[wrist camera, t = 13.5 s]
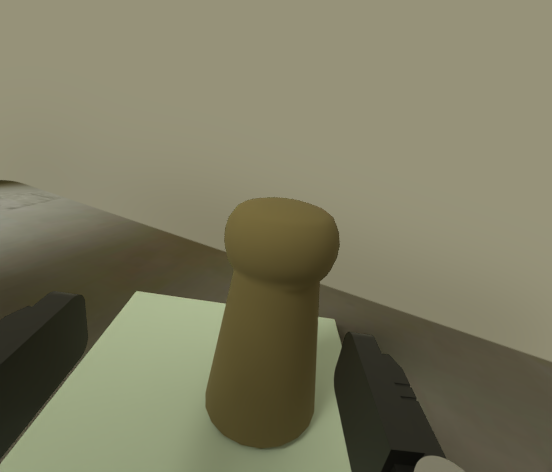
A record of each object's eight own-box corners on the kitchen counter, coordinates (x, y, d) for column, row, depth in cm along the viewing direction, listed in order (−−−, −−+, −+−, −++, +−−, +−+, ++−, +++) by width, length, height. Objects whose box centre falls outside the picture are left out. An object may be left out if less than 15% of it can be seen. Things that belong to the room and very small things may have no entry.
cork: (250, 344, 21) (268, 184, 17) (331, 389, 18) (373, 208, 15) (180, 401, 16) (185, 195, 13) (276, 476, 13) (319, 234, 10)
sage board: (-78, 589, 10) (-87, 573, 9) (136, 301, 25) (136, 291, 24) (406, 630, 11) (415, 617, 10) (331, 329, 26) (334, 319, 25)
